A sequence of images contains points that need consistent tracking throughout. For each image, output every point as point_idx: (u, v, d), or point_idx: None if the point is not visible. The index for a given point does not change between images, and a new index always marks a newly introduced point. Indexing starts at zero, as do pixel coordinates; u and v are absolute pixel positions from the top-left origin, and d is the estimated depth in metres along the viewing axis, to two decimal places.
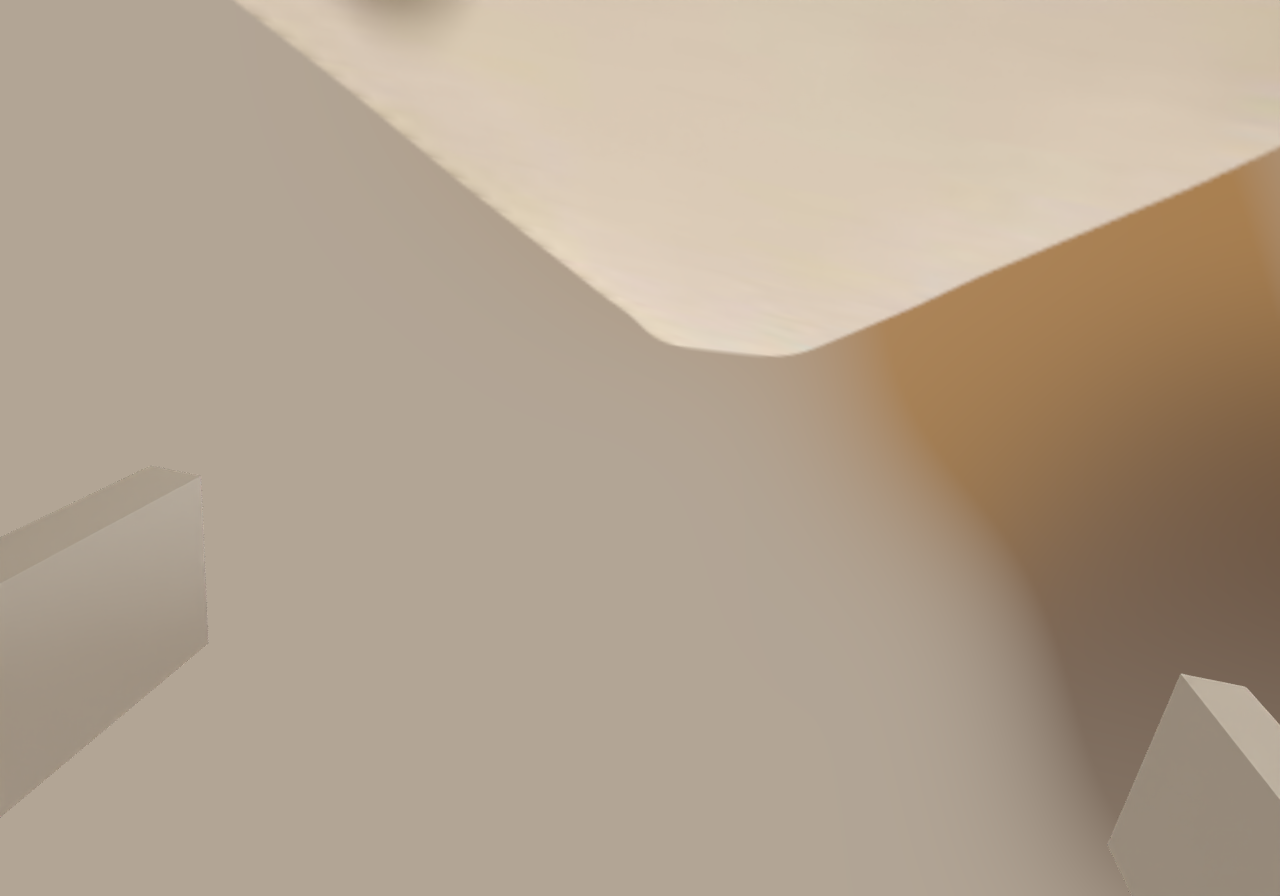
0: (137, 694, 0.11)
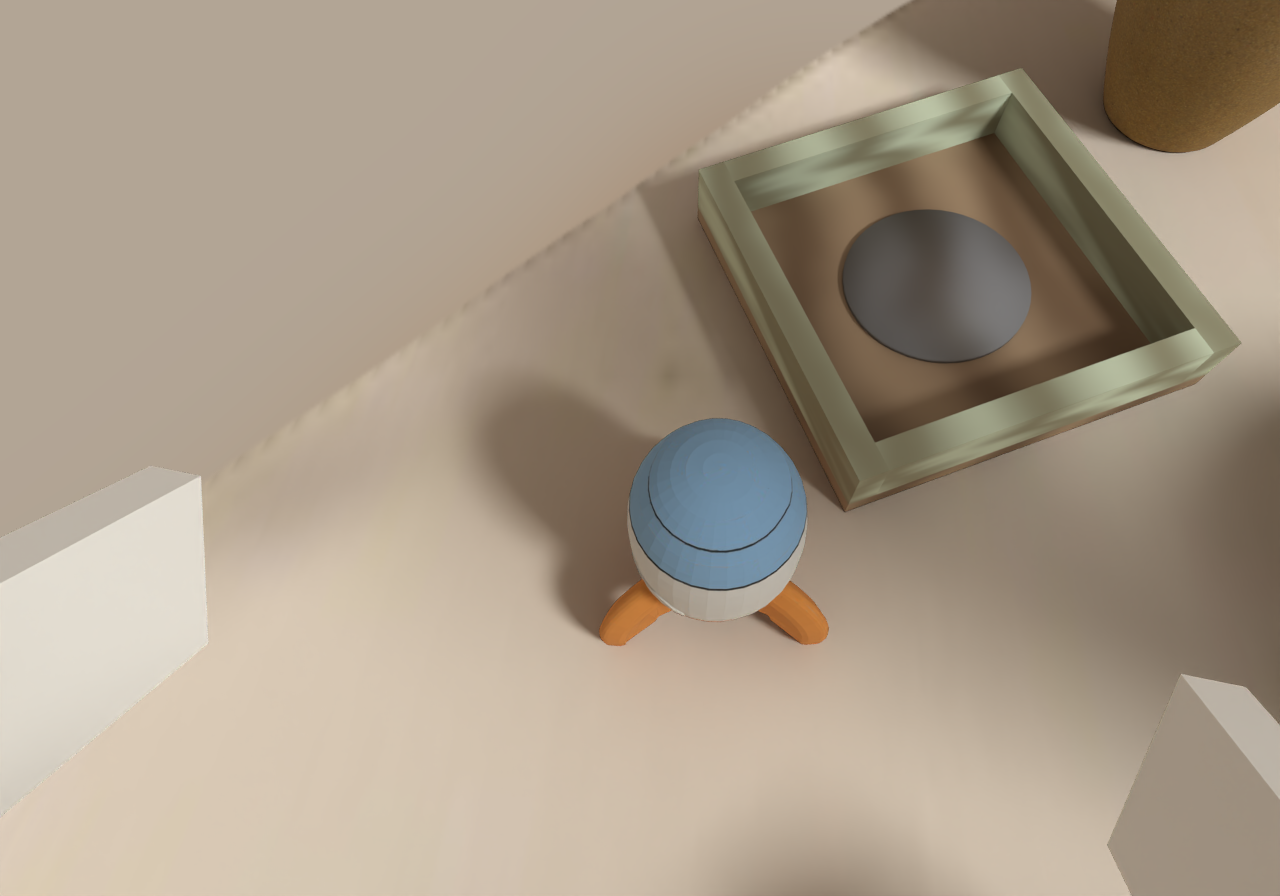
0: (137, 694, 0.11)
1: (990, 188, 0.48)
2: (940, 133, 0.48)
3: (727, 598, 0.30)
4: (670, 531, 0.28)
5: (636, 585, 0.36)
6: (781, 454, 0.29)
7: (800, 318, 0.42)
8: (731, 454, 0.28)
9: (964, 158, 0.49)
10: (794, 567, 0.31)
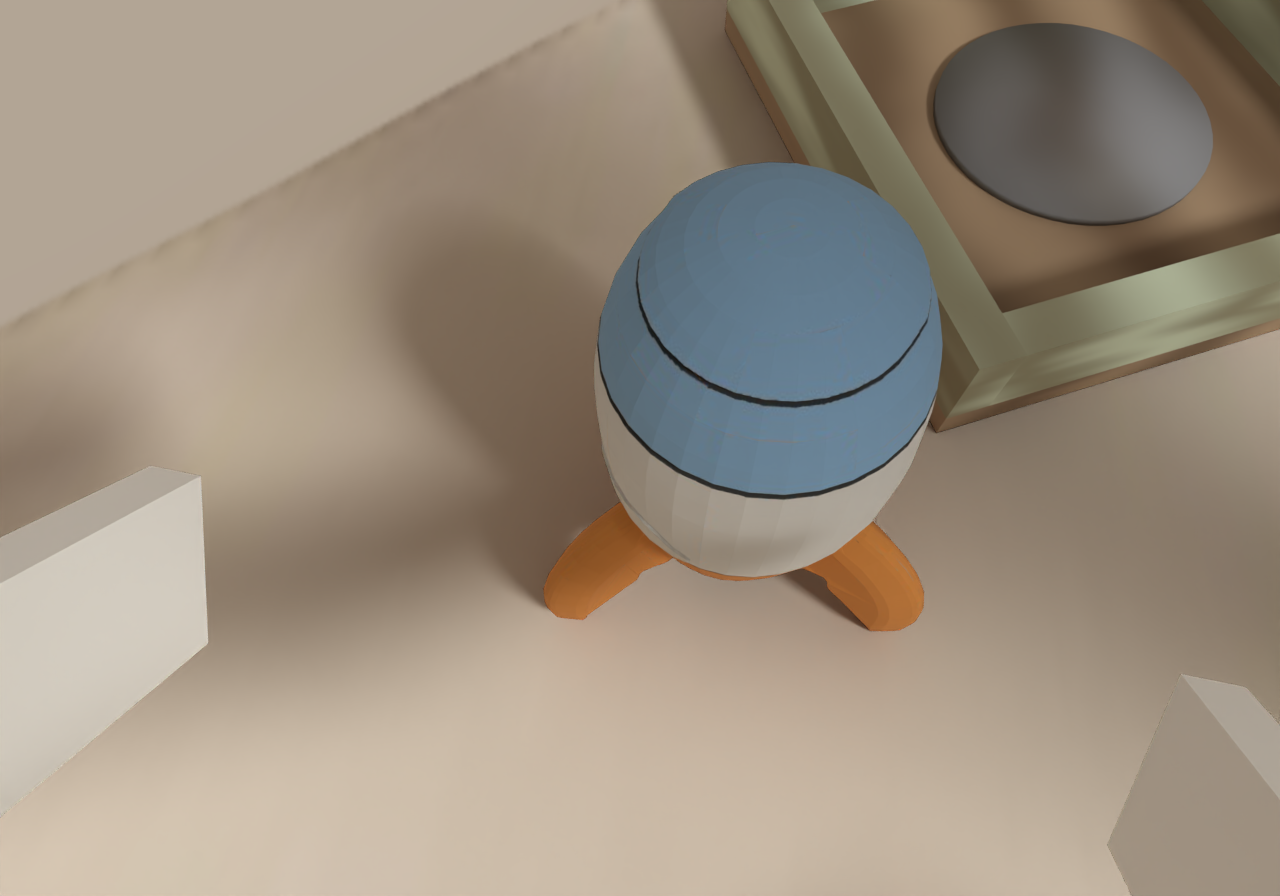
0: (137, 694, 0.11)
1: (1142, 3, 0.34)
2: None
3: (781, 518, 0.15)
4: (679, 361, 0.13)
5: (607, 513, 0.21)
6: (909, 227, 0.14)
7: (882, 133, 0.27)
8: (814, 202, 0.13)
9: None
10: (905, 472, 0.16)
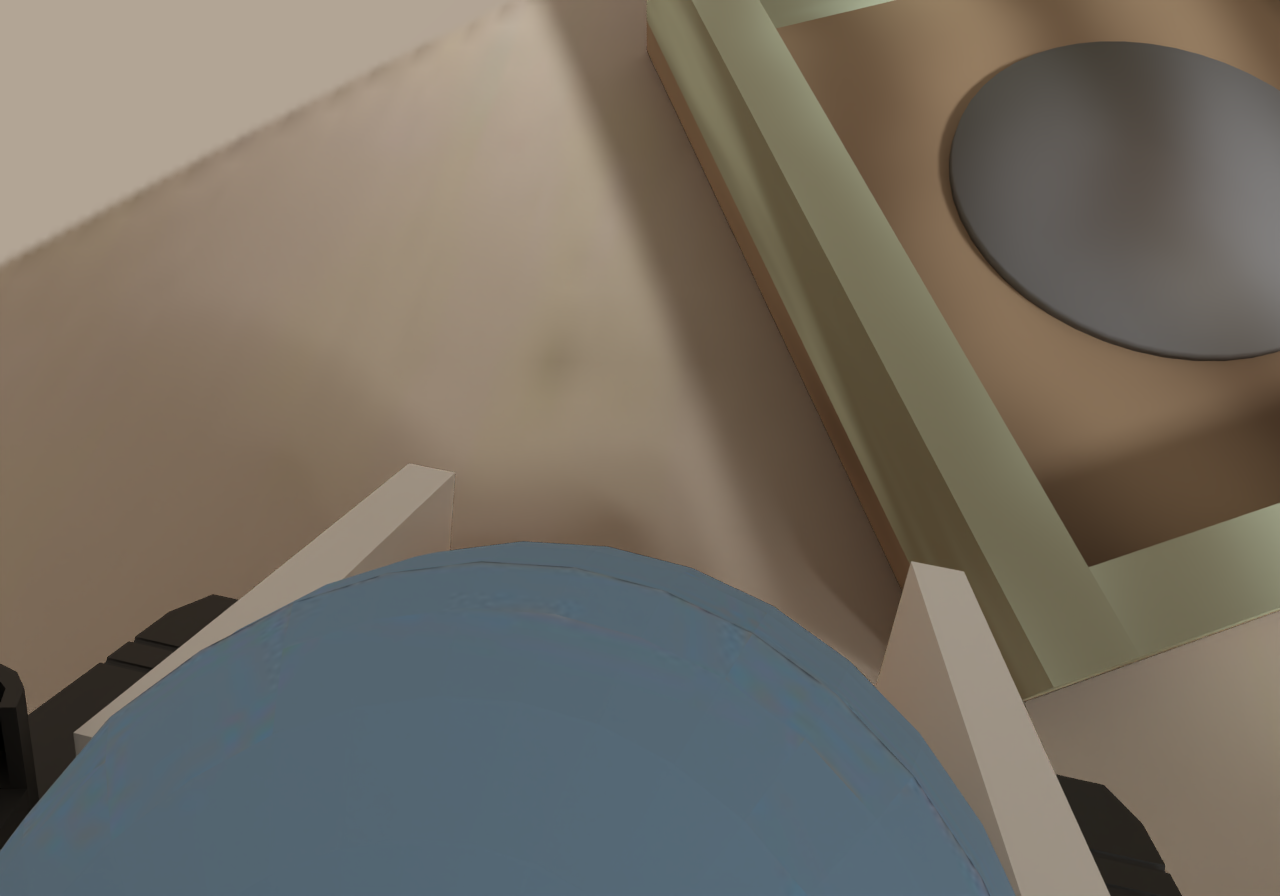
0: None
1: (1247, 12, 0.23)
2: None
3: None
4: None
5: None
6: None
7: (872, 227, 0.17)
8: None
9: None
10: None
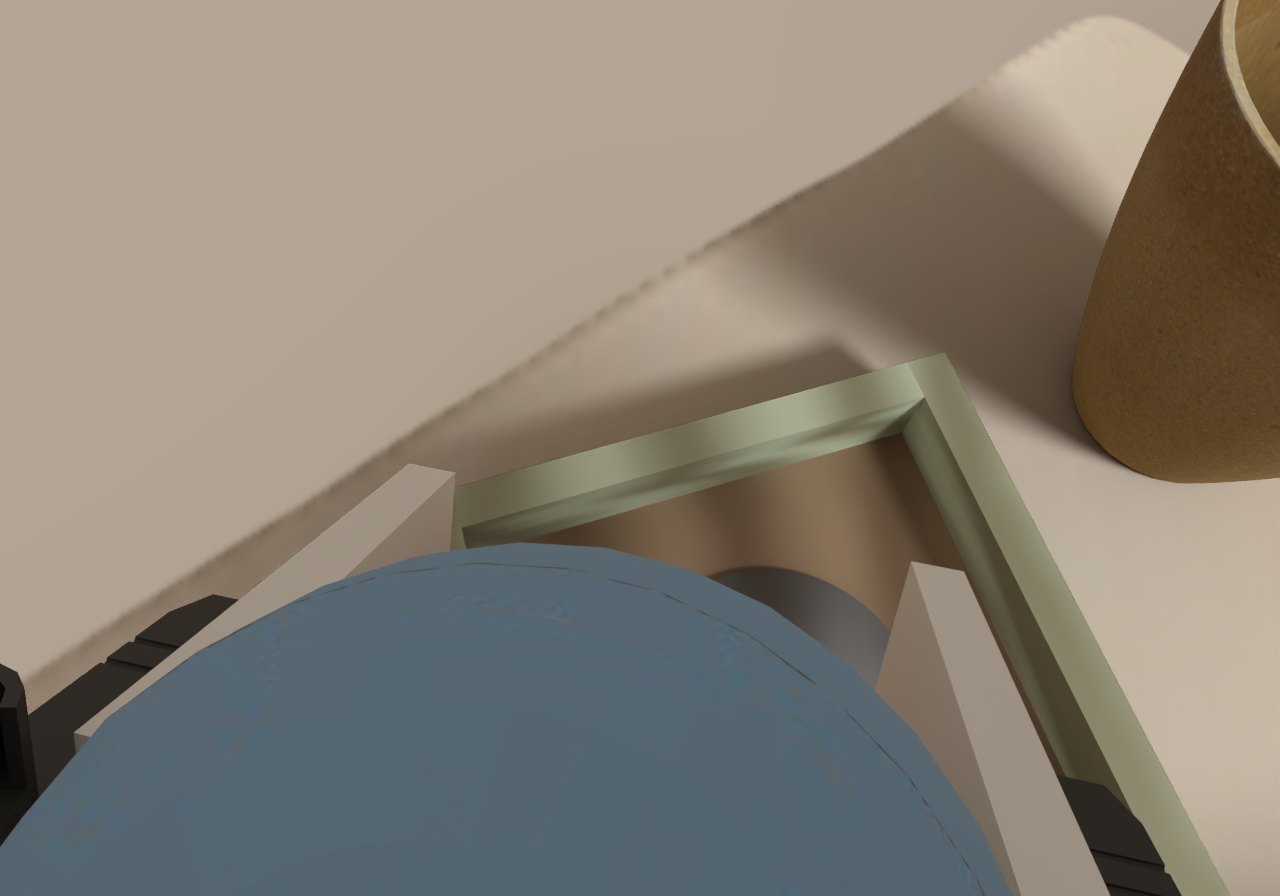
0: None
1: (884, 534, 0.31)
2: (811, 443, 0.31)
3: None
4: None
5: None
6: None
7: None
8: None
9: (851, 475, 0.32)
10: None
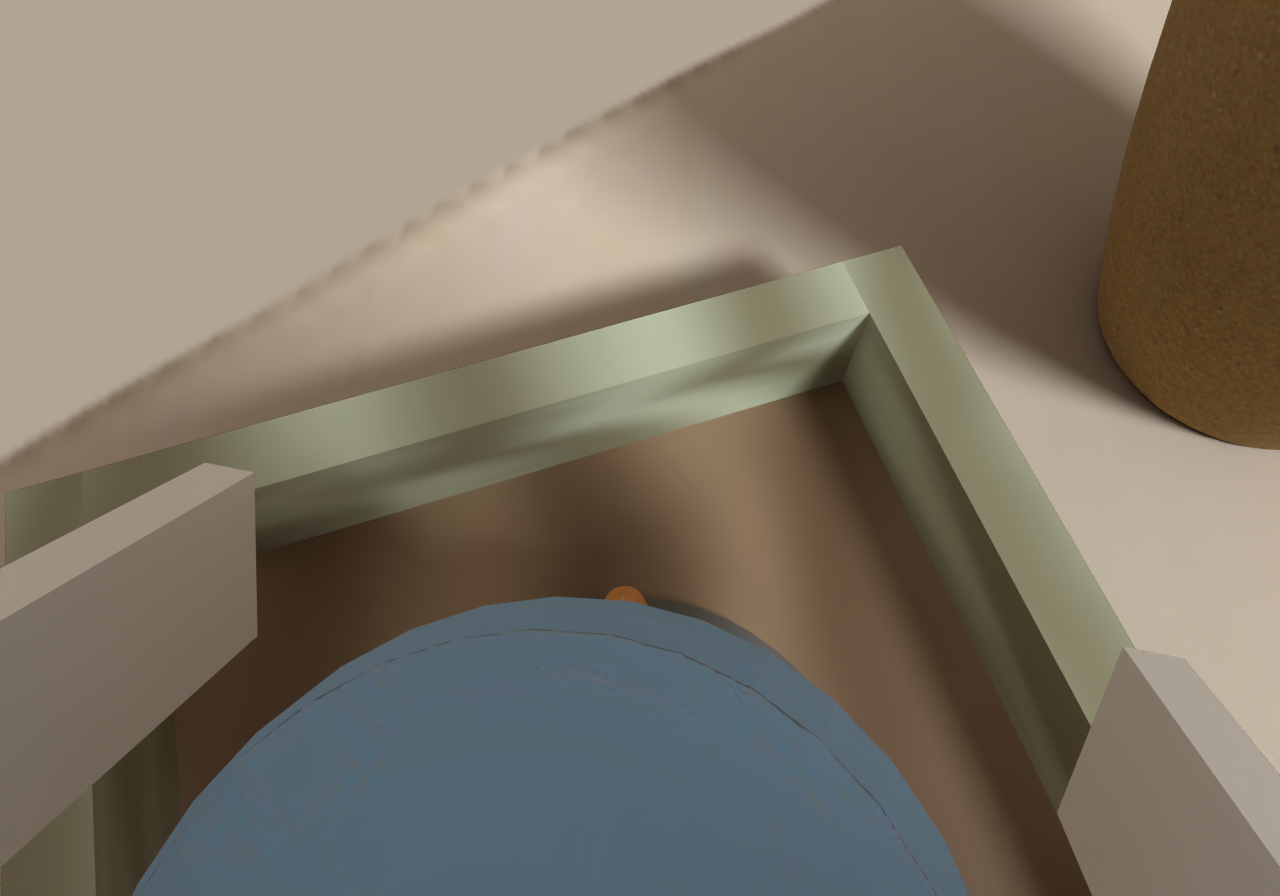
0: (195, 684, 0.11)
1: (813, 537, 0.19)
2: (694, 395, 0.19)
3: None
4: None
5: None
6: None
7: None
8: None
9: (764, 445, 0.21)
10: None
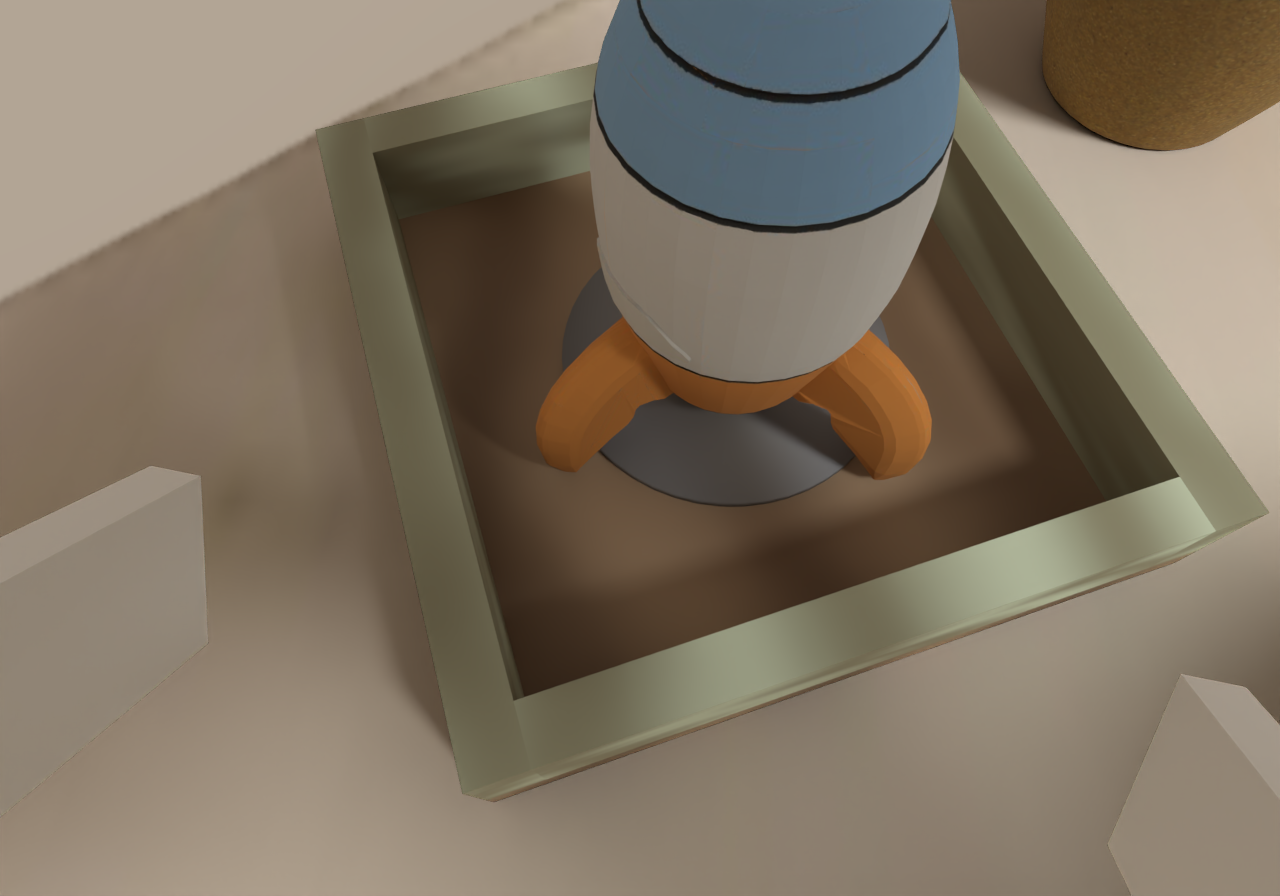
0: (137, 694, 0.11)
1: None
2: None
3: (791, 264, 0.14)
4: (683, 64, 0.13)
5: (603, 334, 0.20)
6: None
7: (426, 418, 0.21)
8: None
9: None
10: (918, 237, 0.16)
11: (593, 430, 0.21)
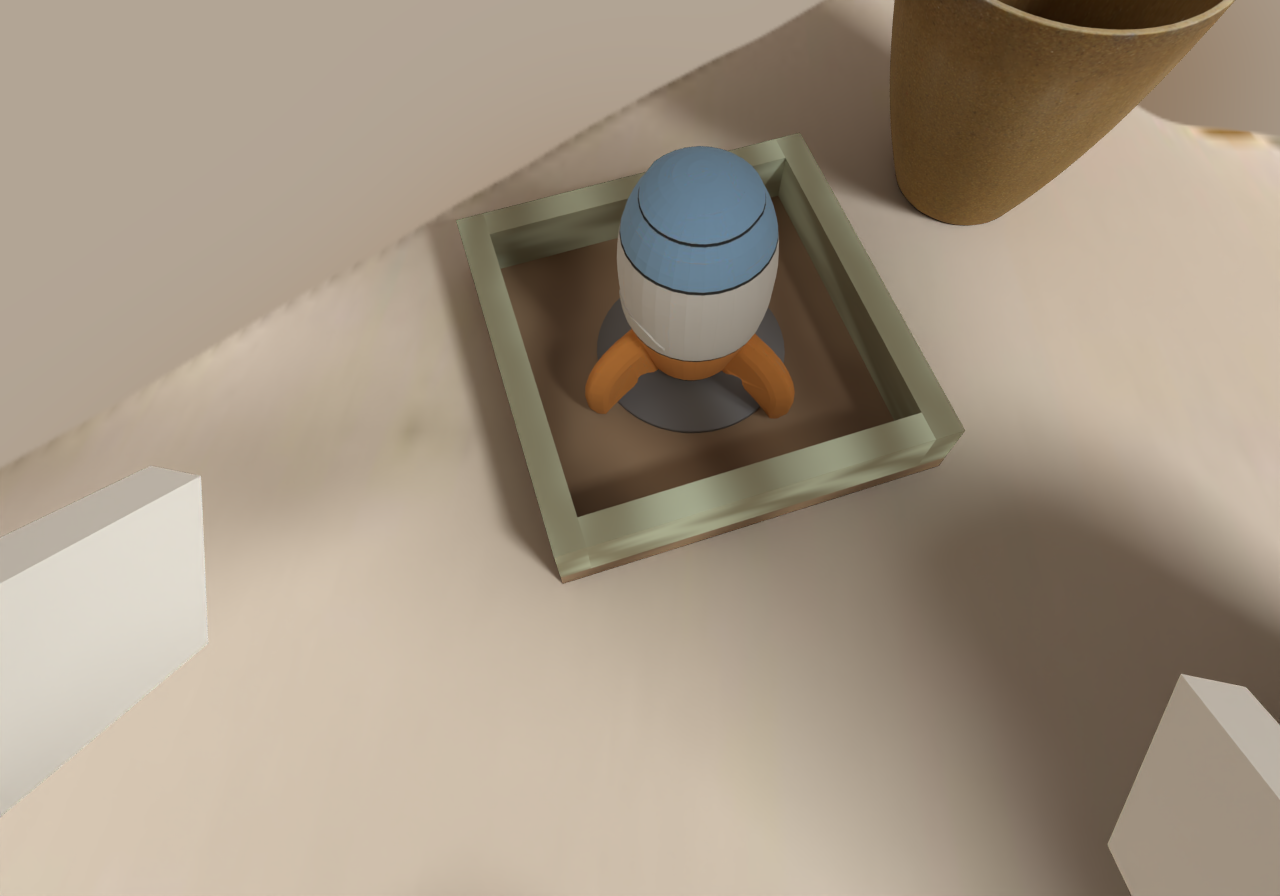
0: (137, 694, 0.11)
1: None
2: None
3: (704, 307, 0.33)
4: (656, 230, 0.32)
5: (621, 337, 0.39)
6: (757, 174, 0.32)
7: (527, 382, 0.40)
8: (713, 161, 0.31)
9: None
10: (765, 294, 0.35)
11: (616, 388, 0.41)
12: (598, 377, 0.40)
